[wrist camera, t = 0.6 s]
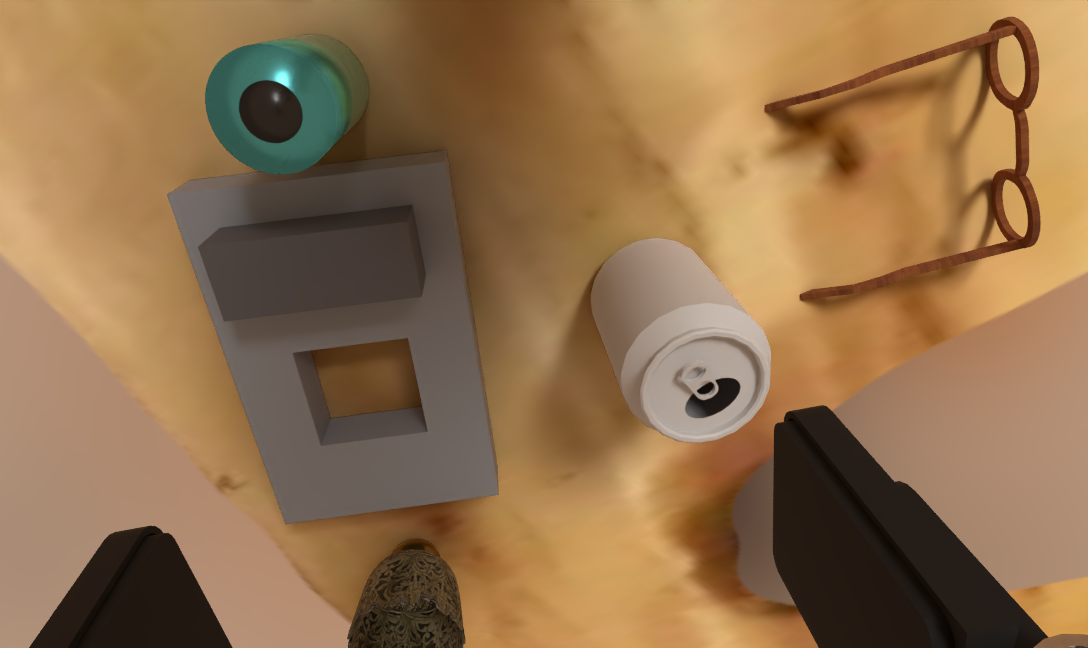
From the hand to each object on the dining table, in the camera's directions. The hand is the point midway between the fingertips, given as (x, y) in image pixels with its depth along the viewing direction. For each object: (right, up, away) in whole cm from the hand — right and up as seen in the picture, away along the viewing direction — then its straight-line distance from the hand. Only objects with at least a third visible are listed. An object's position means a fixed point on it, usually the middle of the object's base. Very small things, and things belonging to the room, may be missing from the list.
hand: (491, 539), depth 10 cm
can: (+7, +6, +31) cm, 32 cm away
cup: (-9, -14, +39) cm, 42 cm away
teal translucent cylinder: (-11, +16, +24) cm, 31 cm away
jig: (-10, +2, +31) cm, 33 cm away
